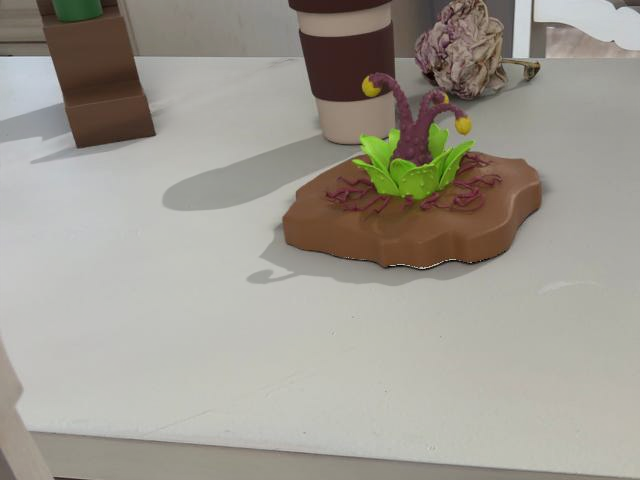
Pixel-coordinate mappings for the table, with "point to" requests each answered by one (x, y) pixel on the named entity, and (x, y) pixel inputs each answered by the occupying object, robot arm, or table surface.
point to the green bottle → (77, 9)
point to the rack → (97, 76)
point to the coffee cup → (348, 64)
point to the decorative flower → (465, 51)
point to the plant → (414, 194)
